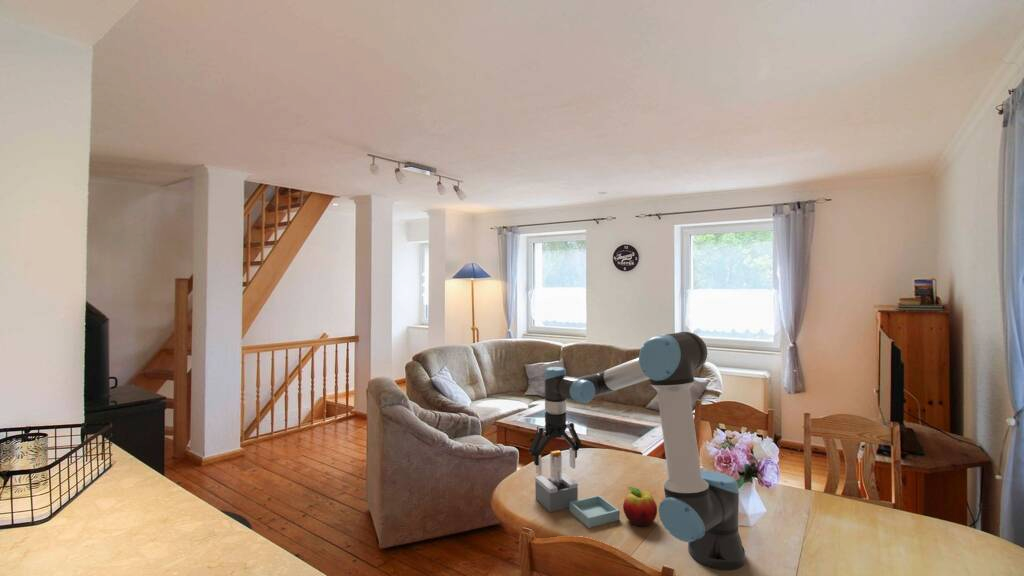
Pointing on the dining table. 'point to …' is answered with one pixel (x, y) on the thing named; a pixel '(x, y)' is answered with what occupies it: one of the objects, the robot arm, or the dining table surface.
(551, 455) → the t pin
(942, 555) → the dining table surface
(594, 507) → the tray
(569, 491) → the block
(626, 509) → the fruit
